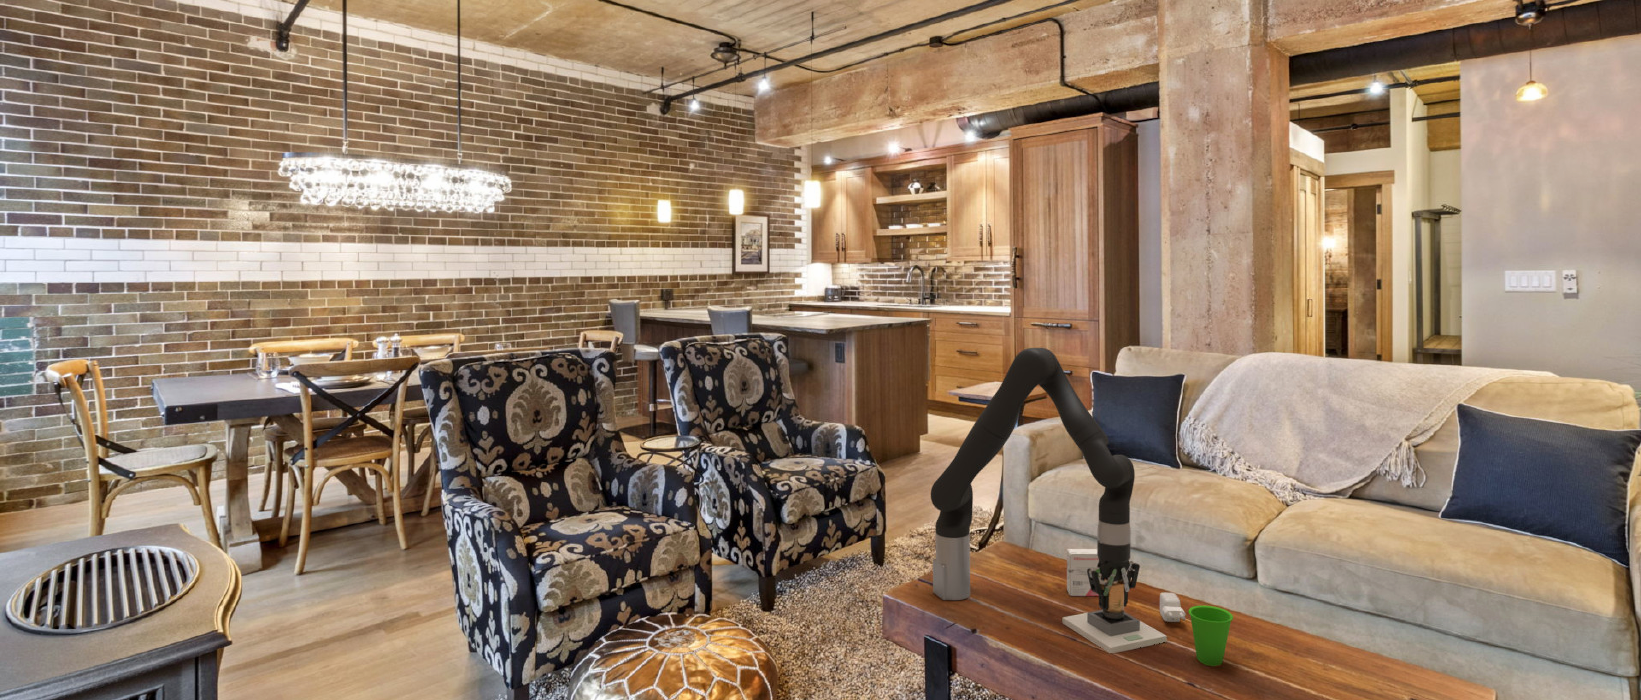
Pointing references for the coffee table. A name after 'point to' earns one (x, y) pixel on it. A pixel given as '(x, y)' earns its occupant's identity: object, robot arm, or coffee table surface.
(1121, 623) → the board
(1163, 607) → the power adapter
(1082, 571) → the ink box
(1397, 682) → the coffee table surface
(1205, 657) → the cup
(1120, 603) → the battery cell
